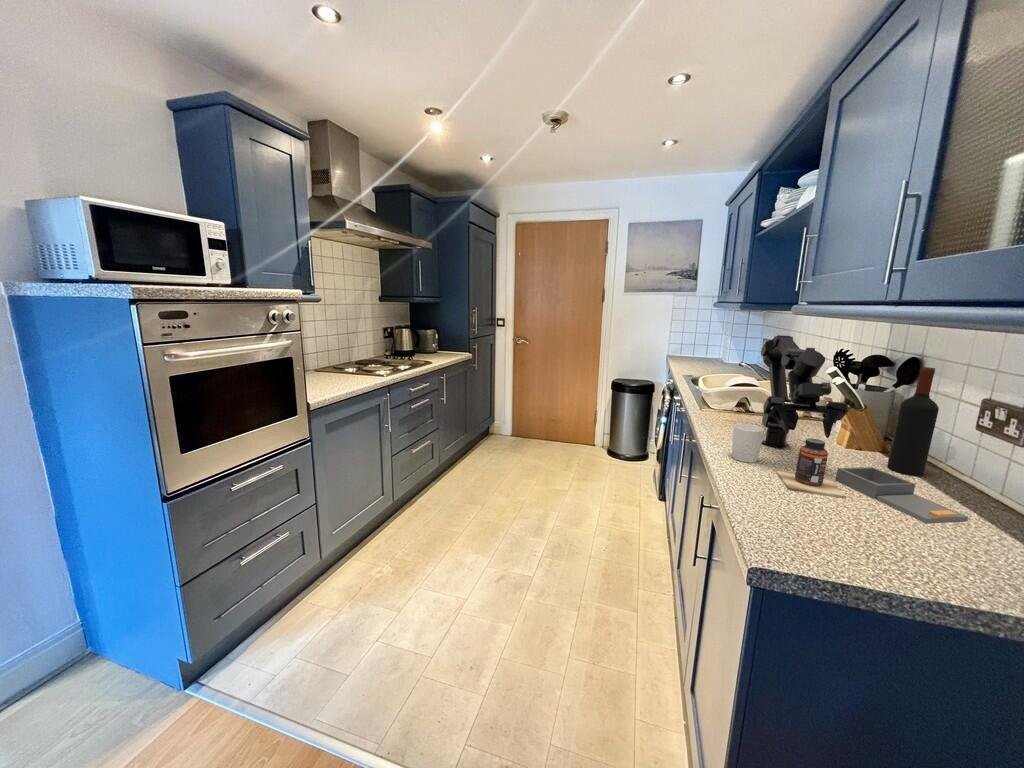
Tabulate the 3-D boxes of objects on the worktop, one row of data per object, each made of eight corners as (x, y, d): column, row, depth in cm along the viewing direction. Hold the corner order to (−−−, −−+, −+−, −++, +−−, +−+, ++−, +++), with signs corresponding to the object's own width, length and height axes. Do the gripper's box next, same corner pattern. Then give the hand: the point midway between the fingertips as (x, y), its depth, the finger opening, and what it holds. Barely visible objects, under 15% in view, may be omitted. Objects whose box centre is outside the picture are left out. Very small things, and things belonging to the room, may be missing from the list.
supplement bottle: (822, 489, 101) (829, 446, 99) (793, 482, 105) (800, 440, 103) (823, 481, 106) (830, 440, 104) (795, 475, 109) (802, 435, 107)
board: (775, 471, 113) (775, 469, 113) (826, 479, 109) (827, 476, 109) (788, 489, 102) (788, 487, 102) (845, 498, 98) (846, 496, 98)
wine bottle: (892, 472, 114) (915, 368, 108) (883, 463, 121) (904, 364, 115) (928, 478, 111) (954, 370, 105) (917, 469, 117) (940, 367, 112)
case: (835, 480, 108) (837, 468, 107) (870, 479, 109) (872, 467, 109) (925, 522, 87) (929, 508, 86) (967, 520, 88) (971, 506, 88)
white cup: (751, 454, 126) (756, 424, 124) (764, 464, 118) (769, 431, 116) (725, 453, 126) (729, 422, 125) (736, 463, 119) (741, 430, 117)
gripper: (771, 368, 113) (776, 416, 105) (852, 373, 107) (863, 424, 99) (761, 390, 122) (764, 435, 114) (835, 396, 116) (844, 444, 108)
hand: (807, 434), depth 109 cm, fingers open, 9 cm apart
